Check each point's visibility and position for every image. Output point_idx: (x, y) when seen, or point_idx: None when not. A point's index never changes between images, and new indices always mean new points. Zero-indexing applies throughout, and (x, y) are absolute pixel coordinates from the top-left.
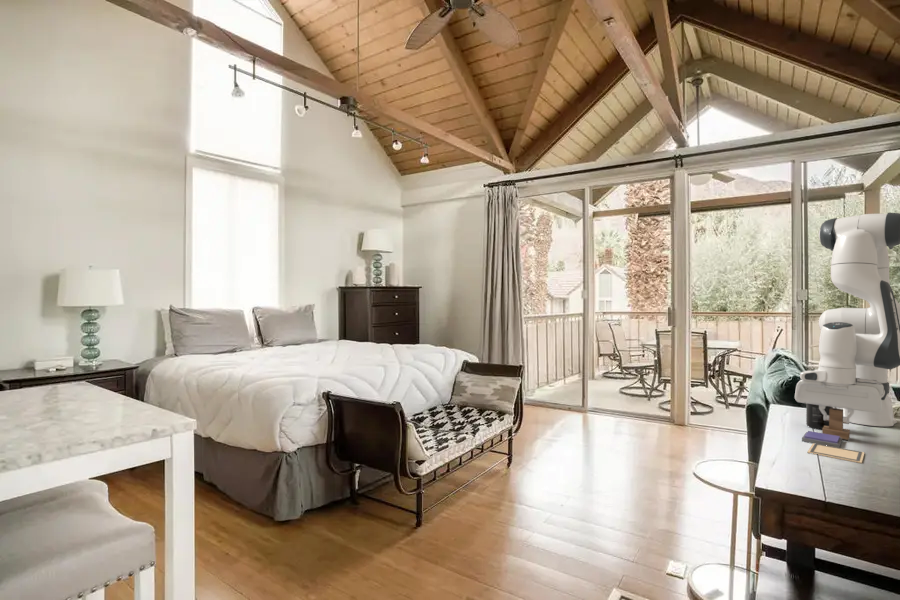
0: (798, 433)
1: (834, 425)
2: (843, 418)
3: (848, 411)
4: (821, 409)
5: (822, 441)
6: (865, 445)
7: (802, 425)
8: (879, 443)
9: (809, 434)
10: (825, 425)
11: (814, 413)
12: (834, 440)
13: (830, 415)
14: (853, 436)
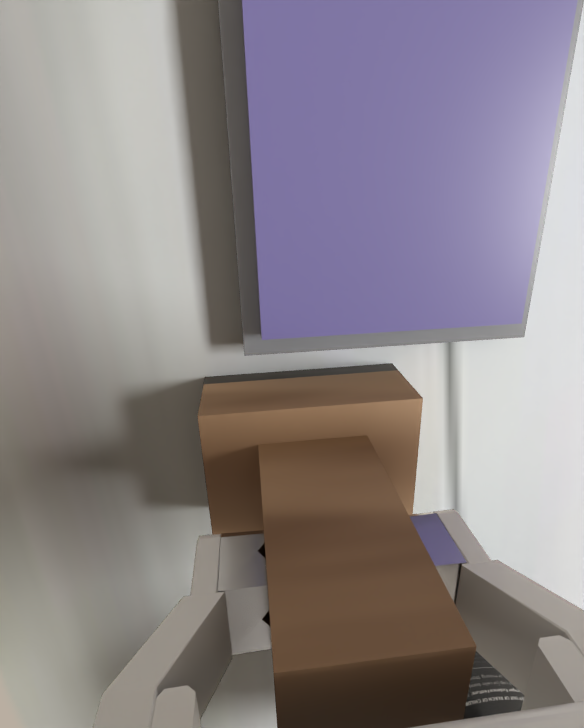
0: (560, 337)
1: (332, 469)
2: (255, 576)
3: (180, 711)
4: (569, 622)
5: None
6: (69, 350)
7: None
8: (19, 512)
9: (521, 143)
10: None
11: (520, 710)
12: (275, 34)
13: (413, 551)
14: None
